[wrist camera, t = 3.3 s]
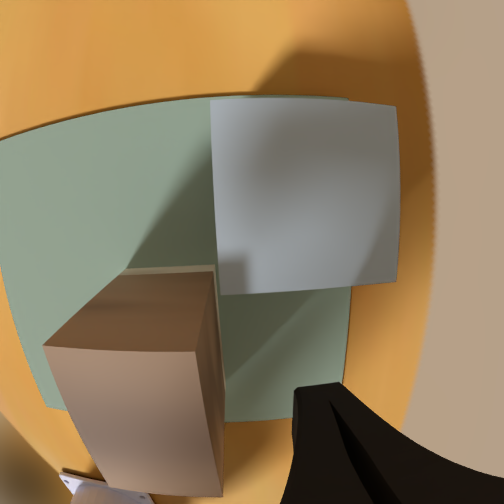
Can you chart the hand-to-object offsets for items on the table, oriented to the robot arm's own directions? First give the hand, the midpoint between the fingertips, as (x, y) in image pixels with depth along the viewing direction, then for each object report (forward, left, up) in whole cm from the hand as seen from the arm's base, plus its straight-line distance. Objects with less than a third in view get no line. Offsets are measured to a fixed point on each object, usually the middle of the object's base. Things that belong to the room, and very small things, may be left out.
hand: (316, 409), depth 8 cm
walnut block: (0, +5, -6) cm, 8 cm away
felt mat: (+2, +6, -6) cm, 9 cm away
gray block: (+6, 0, -6) cm, 8 cm away
